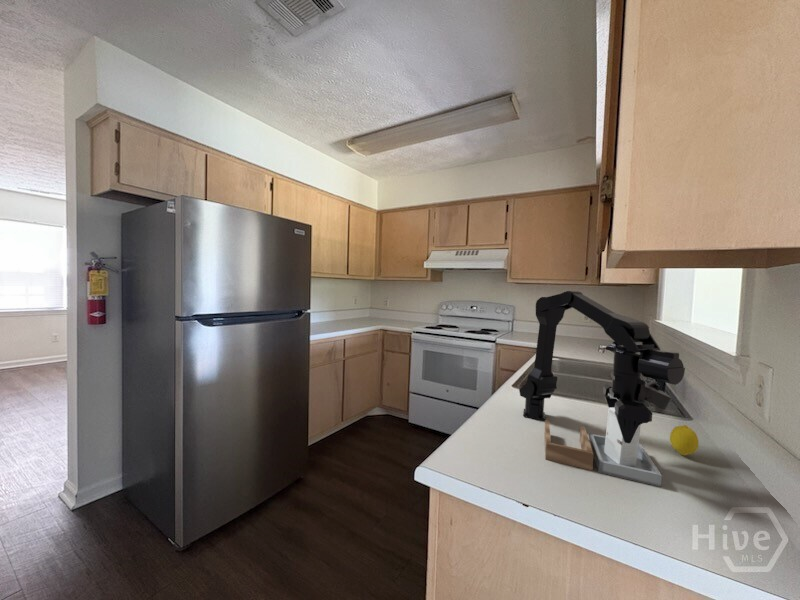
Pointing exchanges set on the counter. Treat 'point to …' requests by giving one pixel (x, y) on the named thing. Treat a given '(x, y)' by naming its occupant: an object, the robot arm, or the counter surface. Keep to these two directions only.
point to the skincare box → (620, 442)
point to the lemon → (684, 440)
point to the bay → (569, 451)
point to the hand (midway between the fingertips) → (622, 434)
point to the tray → (640, 473)
